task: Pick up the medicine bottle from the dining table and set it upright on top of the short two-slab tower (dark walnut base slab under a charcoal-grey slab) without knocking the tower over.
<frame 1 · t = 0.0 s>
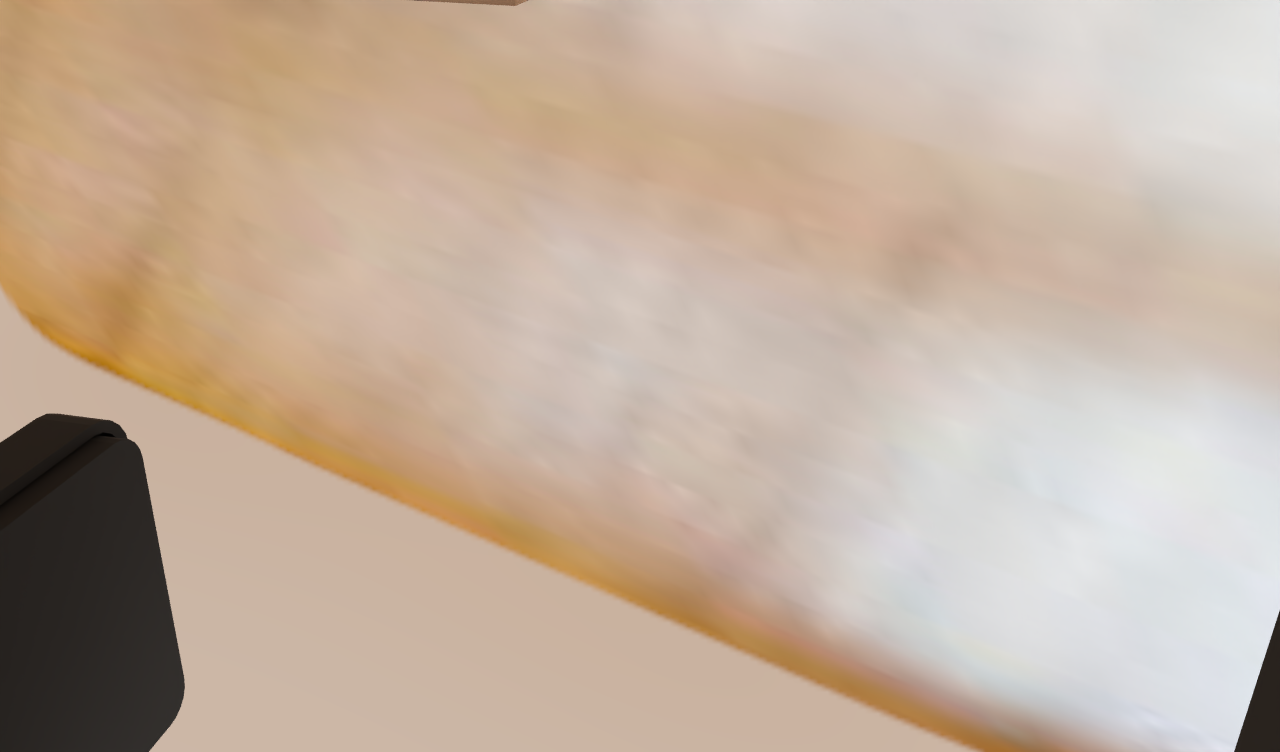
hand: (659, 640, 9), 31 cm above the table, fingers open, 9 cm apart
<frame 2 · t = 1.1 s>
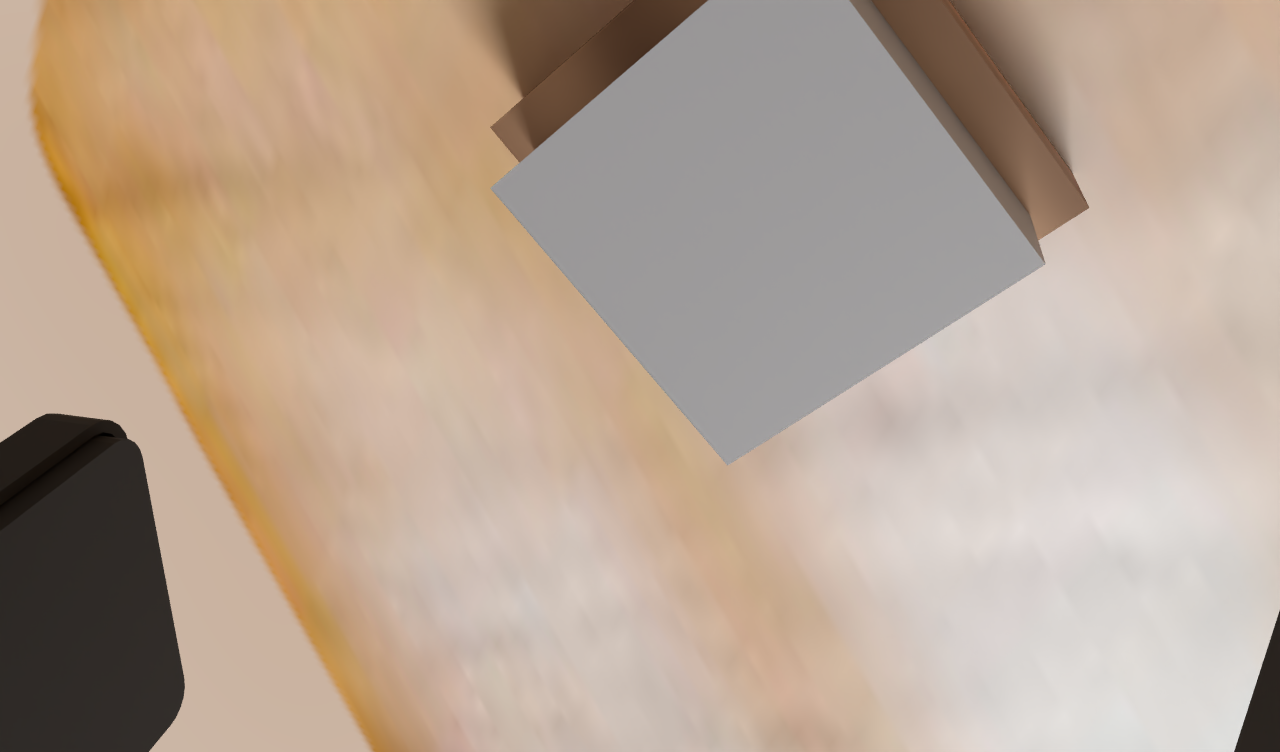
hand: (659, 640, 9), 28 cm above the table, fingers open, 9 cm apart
tower base: (790, 133, 36), on the table
tower top: (774, 182, 33), point 3 cm above the table
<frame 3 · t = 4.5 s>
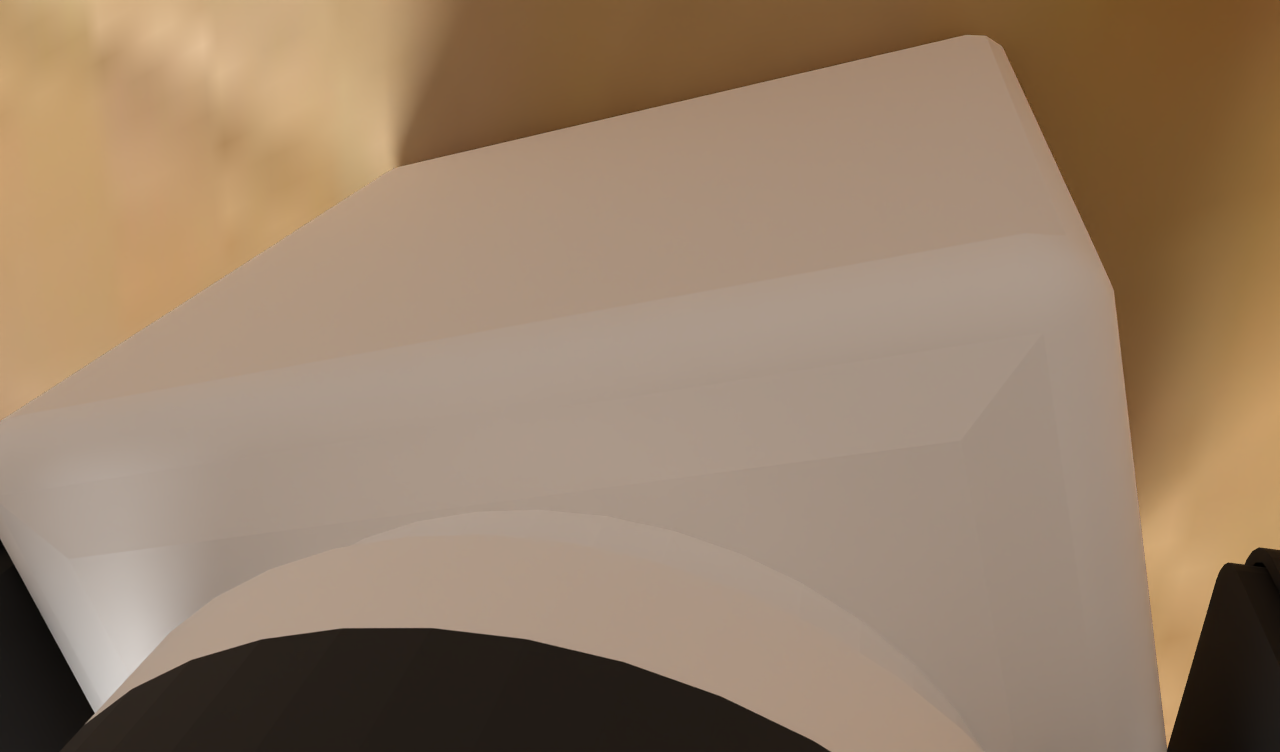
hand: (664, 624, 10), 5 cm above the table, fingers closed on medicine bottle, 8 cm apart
medicine bottle: (740, 382, 14), on the table, touching gripper
when the fingers open (14 cm above the table, at t = 11.0 s): medicine bottle drops 1 cm, point 7 cm above the table.
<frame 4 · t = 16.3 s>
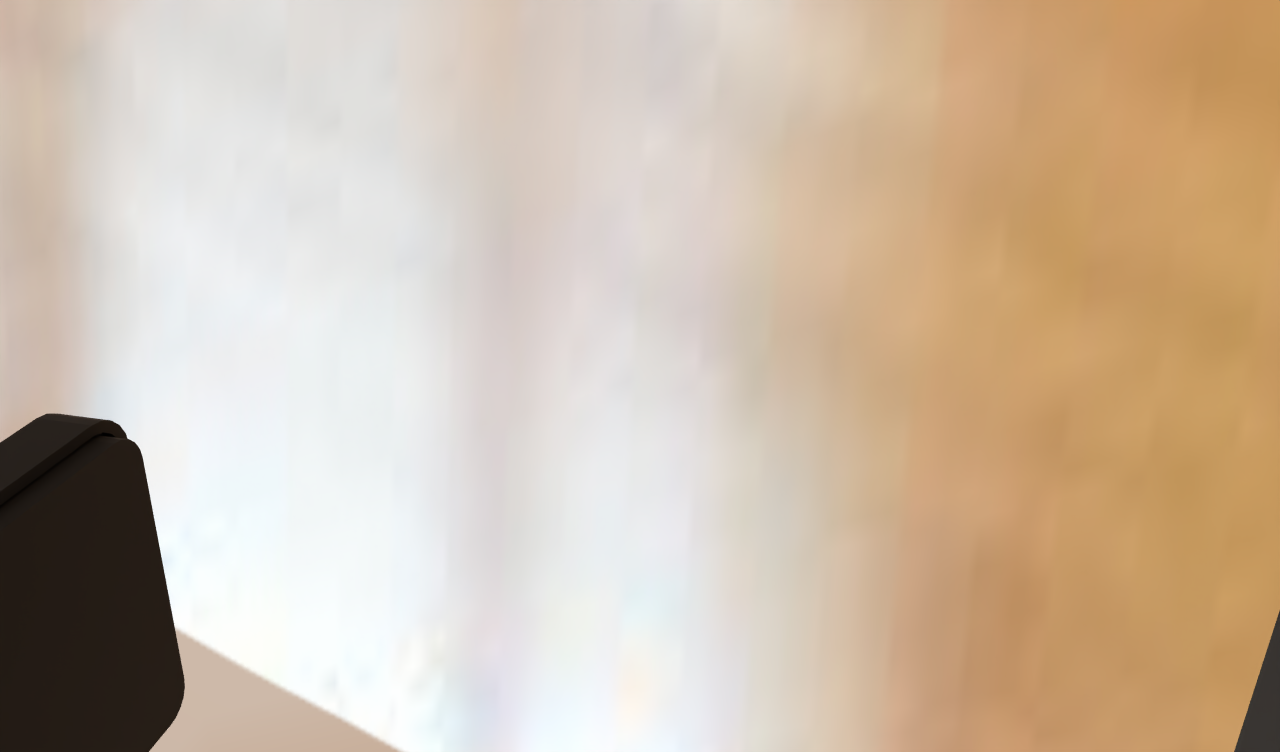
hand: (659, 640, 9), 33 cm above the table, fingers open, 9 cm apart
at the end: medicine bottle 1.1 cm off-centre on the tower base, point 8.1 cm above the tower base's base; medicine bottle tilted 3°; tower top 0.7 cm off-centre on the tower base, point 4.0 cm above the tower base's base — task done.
